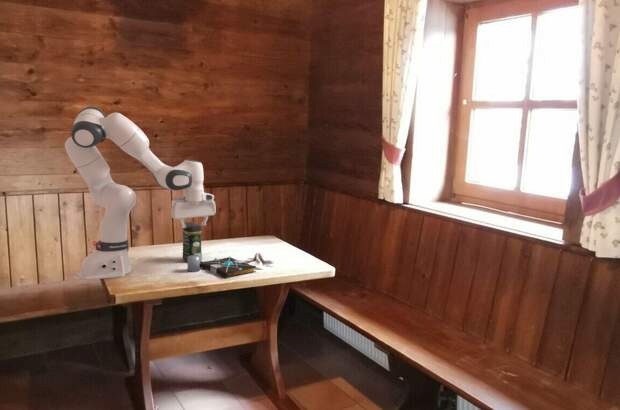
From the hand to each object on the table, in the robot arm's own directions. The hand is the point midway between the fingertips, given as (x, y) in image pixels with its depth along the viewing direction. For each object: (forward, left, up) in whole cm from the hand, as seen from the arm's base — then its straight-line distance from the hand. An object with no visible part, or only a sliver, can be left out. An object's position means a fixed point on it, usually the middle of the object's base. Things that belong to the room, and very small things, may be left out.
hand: (193, 226), depth 232 cm
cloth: (+33, -6, -20) cm, 39 cm away
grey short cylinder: (0, 0, -20) cm, 20 cm away
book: (+13, -7, -21) cm, 26 cm away
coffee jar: (+7, +16, -20) cm, 27 cm away
